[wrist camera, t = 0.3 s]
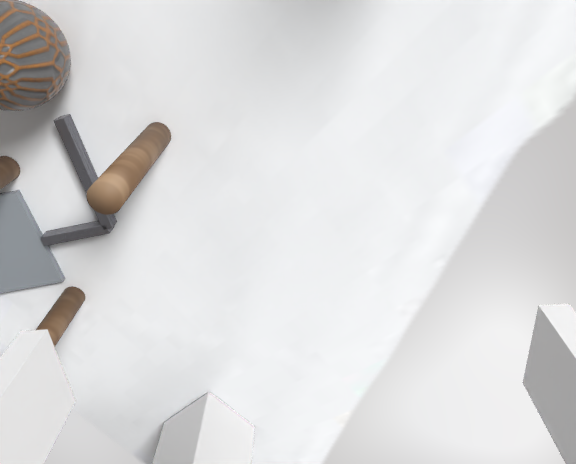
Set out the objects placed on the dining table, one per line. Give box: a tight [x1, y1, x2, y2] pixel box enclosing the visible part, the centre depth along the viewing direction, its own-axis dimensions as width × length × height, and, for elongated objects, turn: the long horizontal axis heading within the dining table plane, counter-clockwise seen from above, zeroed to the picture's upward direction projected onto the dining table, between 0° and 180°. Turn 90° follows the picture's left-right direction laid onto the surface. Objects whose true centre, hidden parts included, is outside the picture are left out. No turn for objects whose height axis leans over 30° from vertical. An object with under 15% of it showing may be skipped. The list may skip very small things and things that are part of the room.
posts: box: [0, 122, 171, 347], centre depth 37 cm, size 15×15×12 cm
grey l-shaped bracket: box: [40, 114, 117, 246], centre depth 40 cm, size 10×6×1 cm, turn 13°
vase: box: [0, 0, 71, 111], centre depth 32 cm, size 7×7×9 cm
